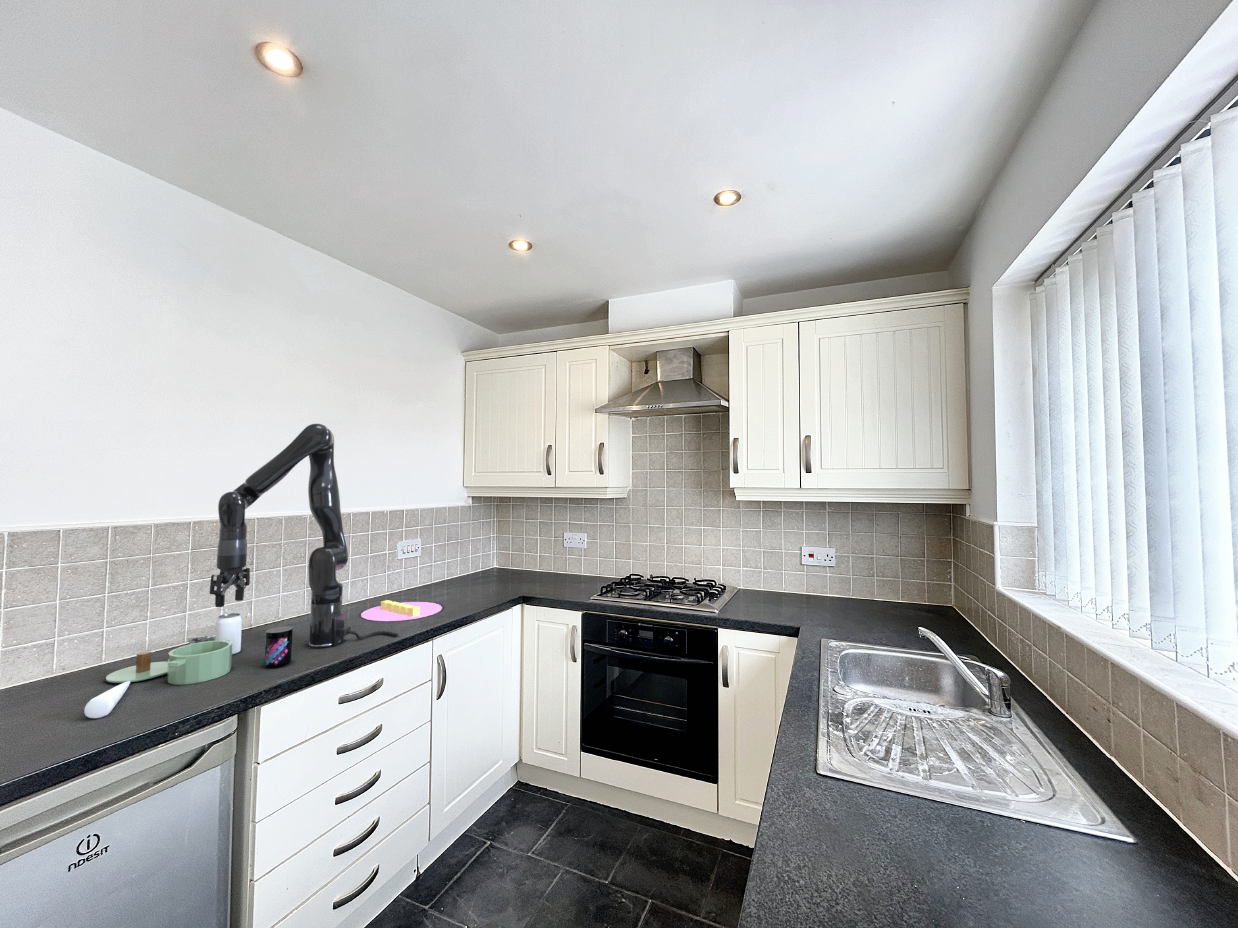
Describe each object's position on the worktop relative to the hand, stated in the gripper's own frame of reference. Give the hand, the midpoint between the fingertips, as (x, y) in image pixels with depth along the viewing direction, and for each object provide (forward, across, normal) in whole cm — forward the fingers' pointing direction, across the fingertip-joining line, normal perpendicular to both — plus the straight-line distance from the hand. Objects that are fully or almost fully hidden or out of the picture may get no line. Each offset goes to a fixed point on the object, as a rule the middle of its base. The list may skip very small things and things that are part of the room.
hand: (229, 603), depth 156 cm
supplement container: (+16, -11, -22) cm, 29 cm away
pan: (+16, -18, -5) cm, 24 cm away
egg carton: (+16, +4, +10) cm, 19 cm away
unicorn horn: (+16, -35, +3) cm, 38 cm away
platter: (+16, +51, -36) cm, 64 cm away
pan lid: (+15, -17, +11) cm, 25 cm away
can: (+16, 0, 0) cm, 16 cm away
